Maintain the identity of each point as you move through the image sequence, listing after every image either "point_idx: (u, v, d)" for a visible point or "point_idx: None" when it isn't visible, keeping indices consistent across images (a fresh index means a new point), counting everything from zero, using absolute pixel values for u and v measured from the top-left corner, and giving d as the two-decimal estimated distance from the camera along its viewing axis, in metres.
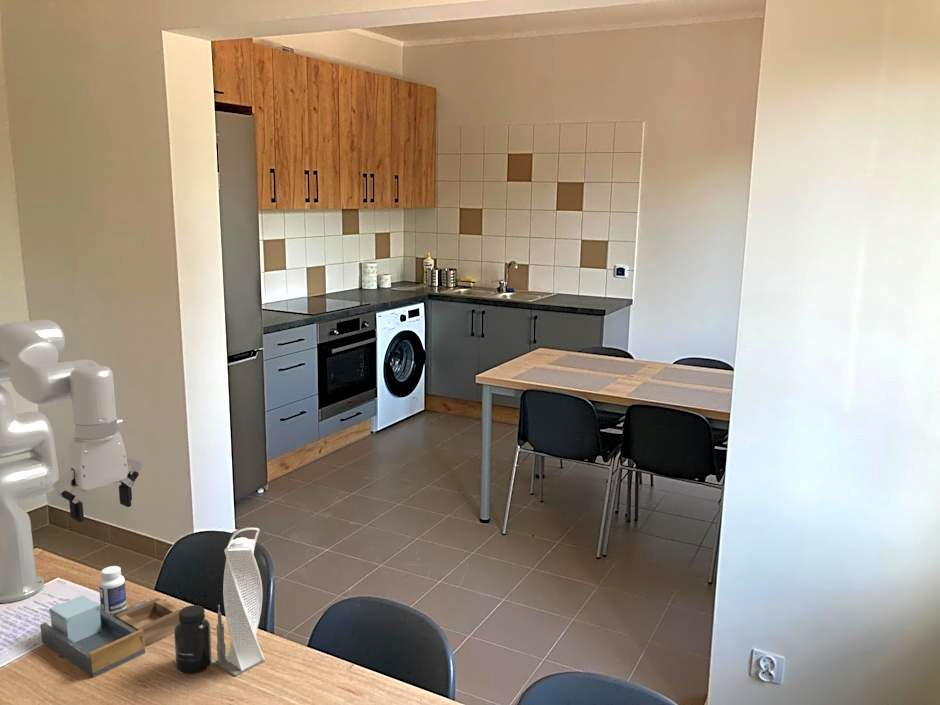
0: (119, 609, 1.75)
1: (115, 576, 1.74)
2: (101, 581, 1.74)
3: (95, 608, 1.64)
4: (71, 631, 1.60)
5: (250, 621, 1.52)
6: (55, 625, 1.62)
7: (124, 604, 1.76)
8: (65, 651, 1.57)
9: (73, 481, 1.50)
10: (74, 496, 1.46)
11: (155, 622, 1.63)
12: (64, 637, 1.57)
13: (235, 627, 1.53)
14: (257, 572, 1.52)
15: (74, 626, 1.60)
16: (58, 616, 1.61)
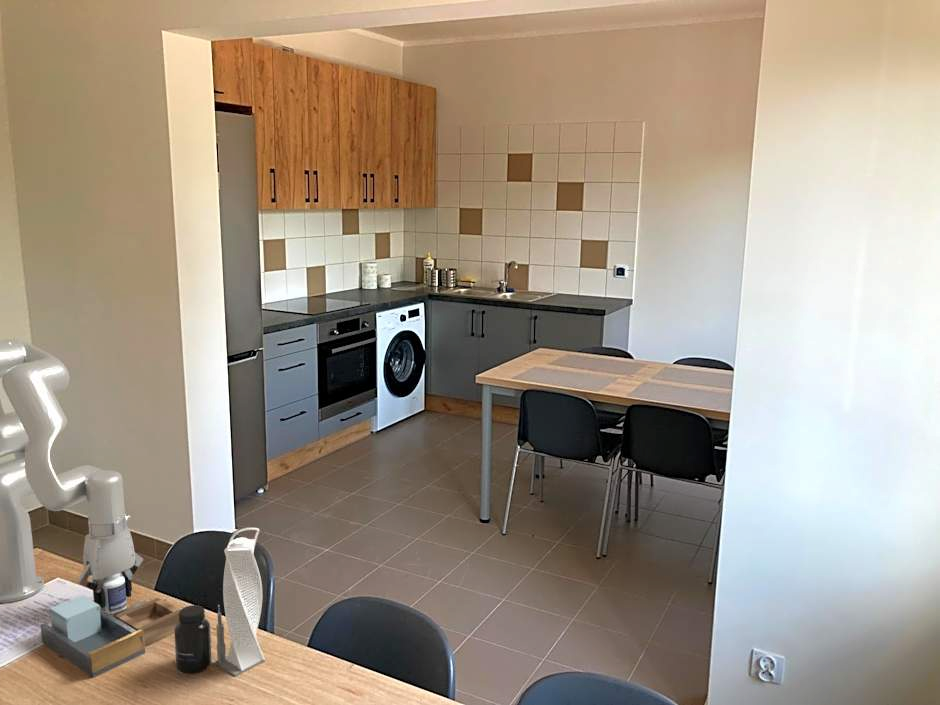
0: (119, 609, 1.75)
1: (115, 576, 1.74)
2: None
3: (95, 608, 1.64)
4: (71, 631, 1.60)
5: (250, 621, 1.52)
6: (55, 625, 1.62)
7: (124, 604, 1.76)
8: (65, 651, 1.57)
9: None
10: (96, 587, 1.71)
11: (155, 622, 1.63)
12: (64, 637, 1.57)
13: (235, 627, 1.53)
14: (257, 572, 1.52)
15: (74, 626, 1.60)
16: (58, 616, 1.61)
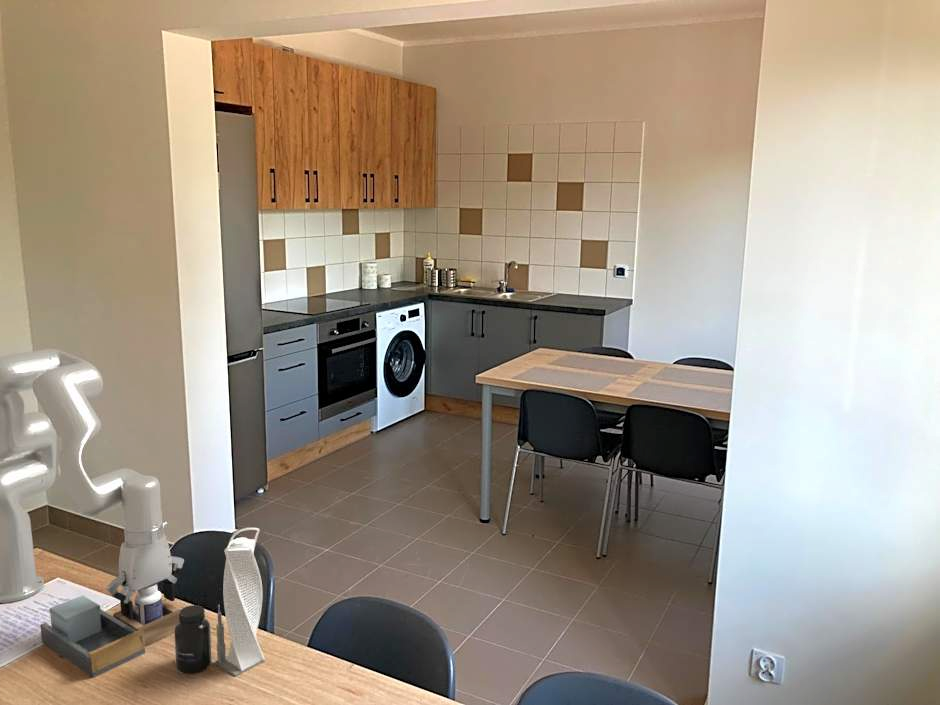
0: None
1: (152, 591, 1.65)
2: (137, 596, 1.65)
3: (95, 608, 1.64)
4: (71, 631, 1.60)
5: (250, 621, 1.52)
6: (55, 625, 1.62)
7: None
8: (65, 651, 1.57)
9: None
10: (125, 596, 1.61)
11: (155, 622, 1.63)
12: (64, 637, 1.57)
13: (235, 627, 1.53)
14: (257, 572, 1.52)
15: (74, 626, 1.60)
16: (58, 616, 1.61)
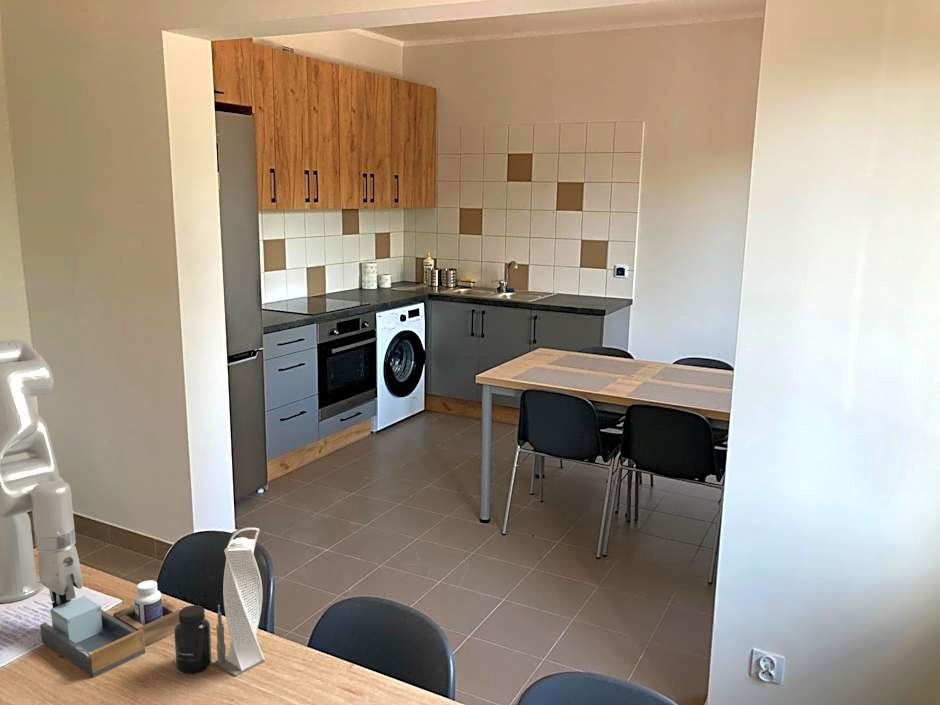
0: None
1: (151, 591, 1.65)
2: (137, 596, 1.65)
3: (96, 609, 1.63)
4: (72, 632, 1.60)
5: (250, 621, 1.52)
6: (56, 626, 1.62)
7: None
8: (65, 651, 1.57)
9: None
10: None
11: (155, 622, 1.63)
12: (64, 637, 1.57)
13: (235, 627, 1.53)
14: (257, 572, 1.52)
15: (75, 627, 1.60)
16: (59, 617, 1.60)
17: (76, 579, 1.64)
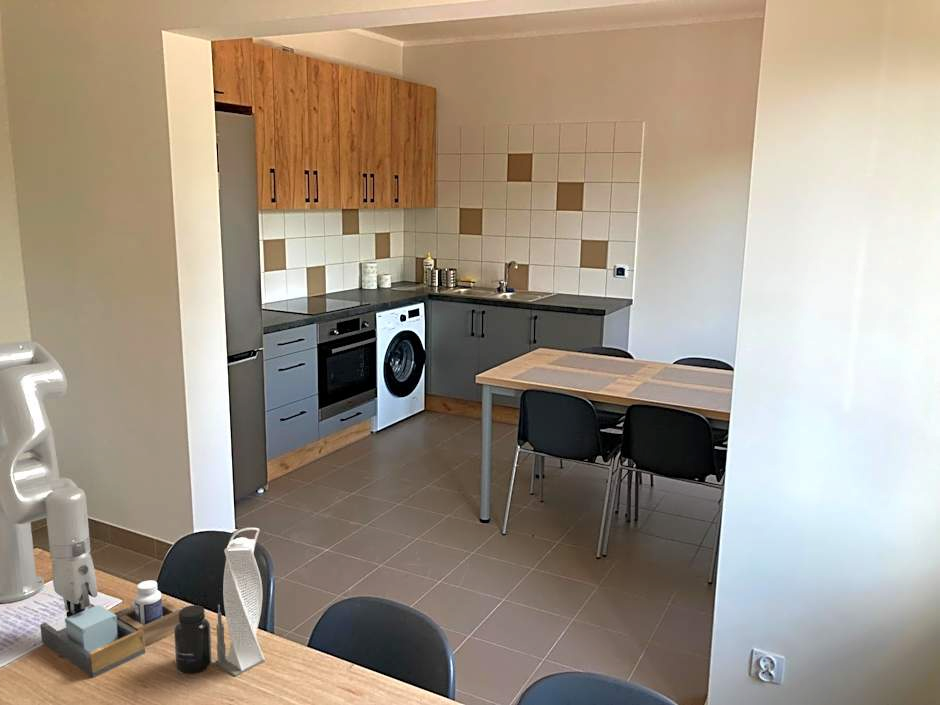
0: None
1: (152, 591, 1.65)
2: (137, 596, 1.65)
3: (112, 618, 1.60)
4: (87, 642, 1.56)
5: (250, 621, 1.52)
6: (71, 635, 1.59)
7: None
8: (65, 651, 1.57)
9: None
10: None
11: (155, 622, 1.63)
12: (64, 637, 1.57)
13: (235, 627, 1.53)
14: (257, 572, 1.52)
15: (91, 637, 1.57)
16: (74, 626, 1.57)
17: (91, 587, 1.60)
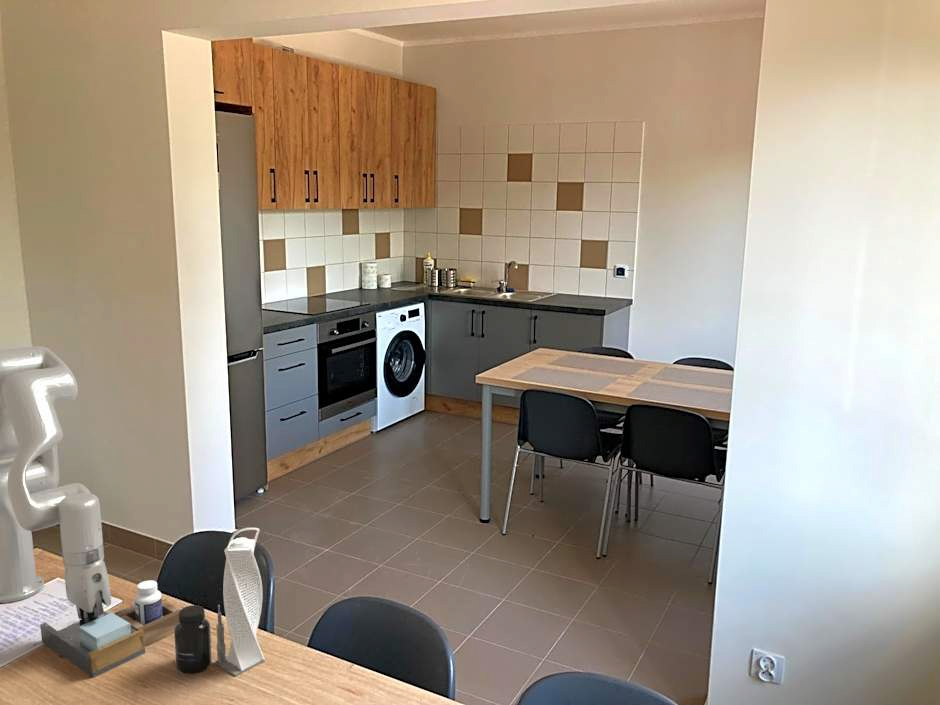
0: None
1: (152, 591, 1.65)
2: (137, 596, 1.65)
3: (126, 626, 1.57)
4: None
5: (250, 621, 1.52)
6: (84, 644, 1.55)
7: None
8: (65, 651, 1.57)
9: None
10: None
11: (155, 622, 1.63)
12: (64, 637, 1.57)
13: (235, 627, 1.53)
14: (257, 572, 1.52)
15: None
16: (88, 635, 1.54)
17: (105, 595, 1.57)
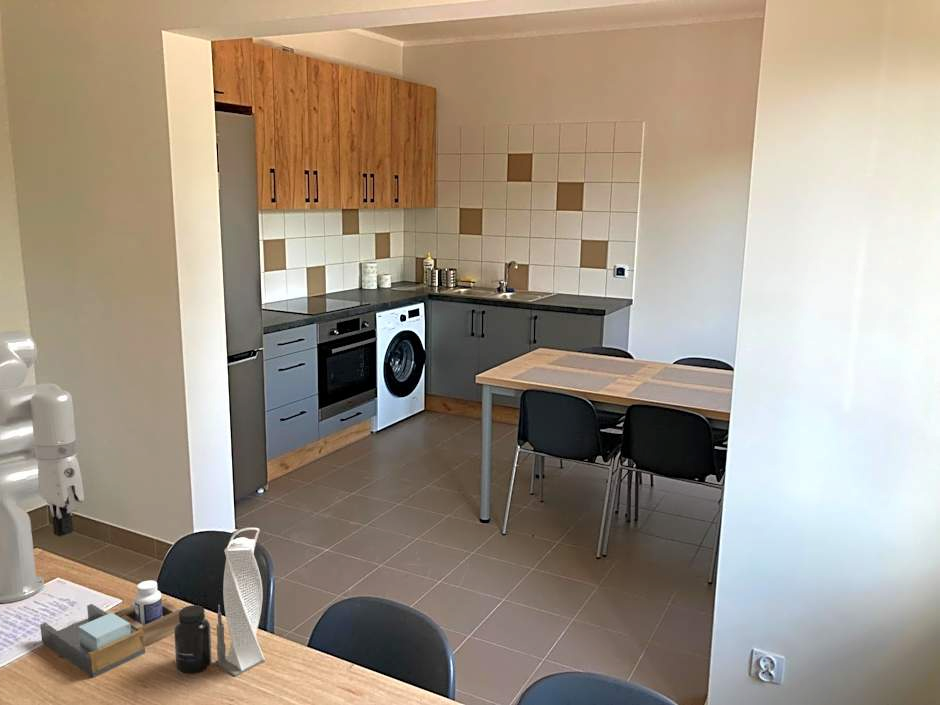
0: None
1: (151, 591, 1.65)
2: (137, 596, 1.65)
3: (126, 626, 1.57)
4: None
5: (250, 621, 1.52)
6: (84, 644, 1.55)
7: None
8: (65, 651, 1.57)
9: None
10: None
11: (155, 622, 1.63)
12: (64, 637, 1.57)
13: (235, 627, 1.53)
14: (257, 572, 1.52)
15: None
16: (87, 635, 1.54)
17: (77, 491, 1.58)
